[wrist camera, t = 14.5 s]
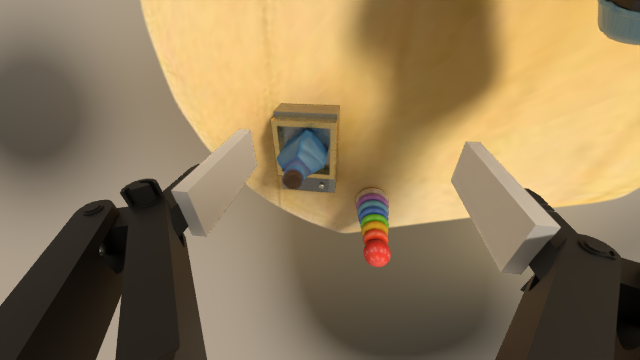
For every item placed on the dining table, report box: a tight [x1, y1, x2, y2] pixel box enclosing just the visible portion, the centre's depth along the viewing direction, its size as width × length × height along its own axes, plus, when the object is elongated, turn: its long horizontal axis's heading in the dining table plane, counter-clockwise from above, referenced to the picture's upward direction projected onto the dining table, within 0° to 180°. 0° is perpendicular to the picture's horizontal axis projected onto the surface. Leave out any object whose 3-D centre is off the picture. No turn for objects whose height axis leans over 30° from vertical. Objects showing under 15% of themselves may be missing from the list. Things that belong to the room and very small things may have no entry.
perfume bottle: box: [276, 127, 328, 189], centre depth 41 cm, size 6×6×12 cm
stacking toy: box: [356, 188, 391, 267], centre depth 50 cm, size 8×8×19 cm
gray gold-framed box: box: [271, 103, 340, 193], centre depth 49 cm, size 18×12×7 cm, turn 0°
